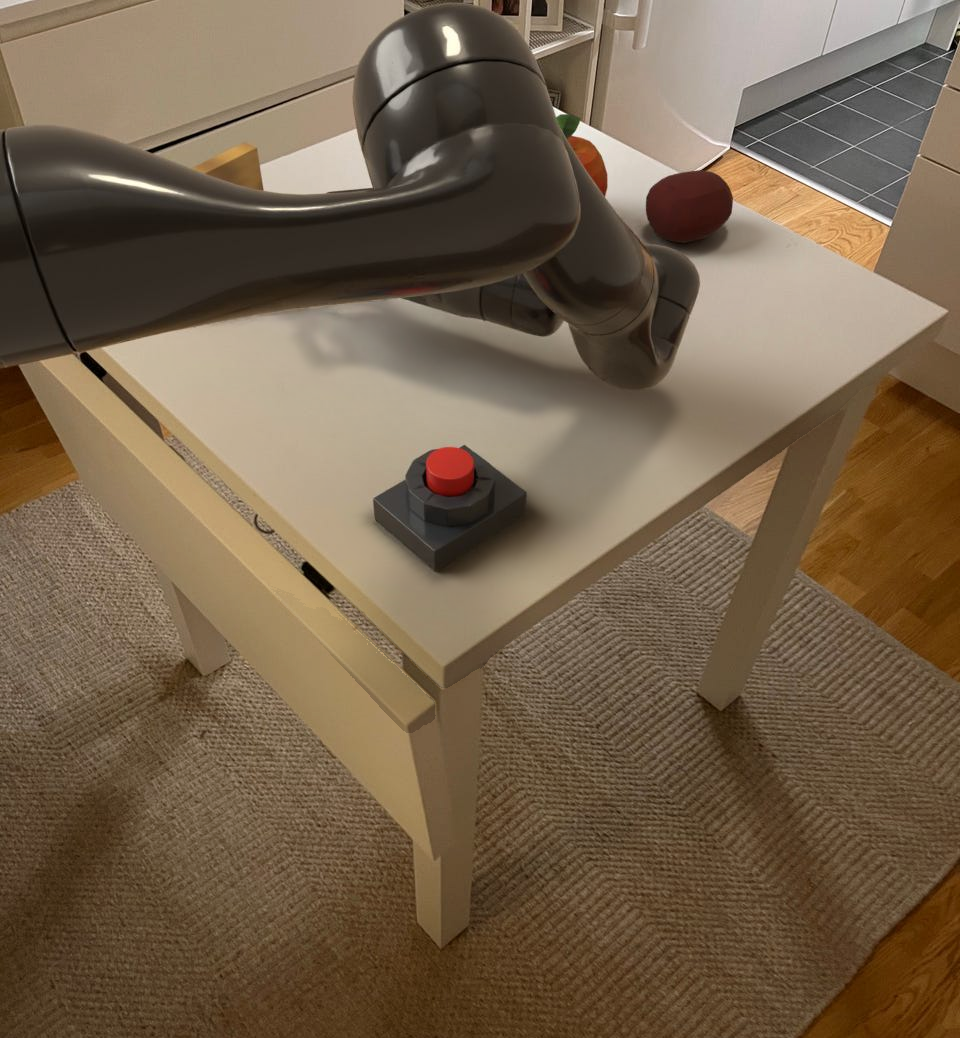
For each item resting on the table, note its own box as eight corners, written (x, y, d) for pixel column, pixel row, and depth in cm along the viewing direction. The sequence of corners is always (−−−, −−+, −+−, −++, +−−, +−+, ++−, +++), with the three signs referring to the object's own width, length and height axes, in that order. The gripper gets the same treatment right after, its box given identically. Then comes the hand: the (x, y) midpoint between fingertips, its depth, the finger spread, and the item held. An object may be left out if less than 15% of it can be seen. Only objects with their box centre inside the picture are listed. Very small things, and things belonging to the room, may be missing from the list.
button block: (435, 572, 71) (434, 533, 68) (374, 519, 74) (370, 479, 71) (525, 513, 75) (529, 474, 72) (464, 465, 78) (464, 425, 75)
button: (448, 504, 70) (447, 486, 69) (417, 479, 72) (416, 460, 70) (483, 482, 72) (484, 464, 70) (452, 458, 73) (452, 439, 72)
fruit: (493, 240, 98) (496, 137, 90) (524, 193, 103) (530, 93, 95) (586, 261, 96) (598, 157, 88) (613, 212, 101) (626, 111, 93)
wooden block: (258, 226, 95) (244, 138, 88) (270, 232, 94) (256, 144, 88) (194, 261, 91) (174, 173, 84) (206, 268, 90) (186, 179, 84)
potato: (630, 220, 101) (639, 161, 96) (712, 210, 102) (725, 151, 97) (657, 260, 96) (668, 201, 91) (742, 249, 98) (757, 190, 93)
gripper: (484, 179, 81) (302, 130, 85) (407, 259, 73) (211, 202, 78) (482, 263, 87) (312, 213, 91) (410, 345, 79) (228, 287, 84)
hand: (266, 208), depth 84 cm, fingers closed
